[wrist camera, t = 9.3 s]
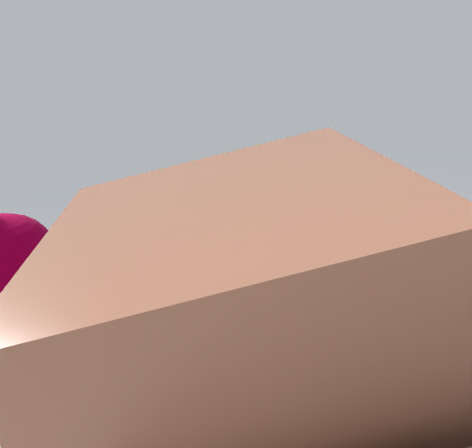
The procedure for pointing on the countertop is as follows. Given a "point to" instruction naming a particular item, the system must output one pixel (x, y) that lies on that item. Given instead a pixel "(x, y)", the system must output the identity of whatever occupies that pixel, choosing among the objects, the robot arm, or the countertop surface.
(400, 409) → the tan rectangular block
